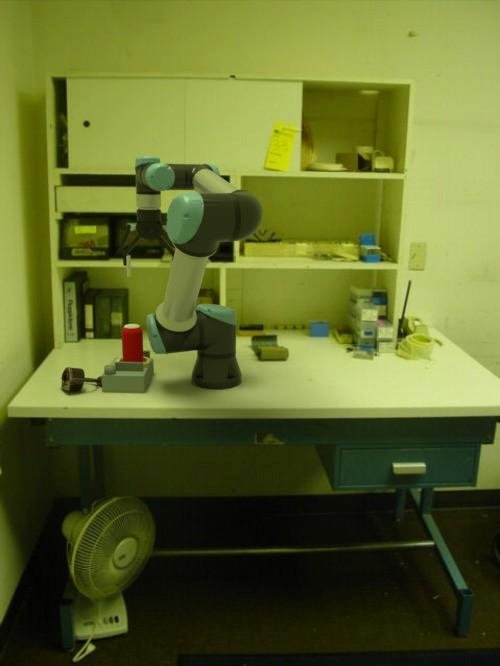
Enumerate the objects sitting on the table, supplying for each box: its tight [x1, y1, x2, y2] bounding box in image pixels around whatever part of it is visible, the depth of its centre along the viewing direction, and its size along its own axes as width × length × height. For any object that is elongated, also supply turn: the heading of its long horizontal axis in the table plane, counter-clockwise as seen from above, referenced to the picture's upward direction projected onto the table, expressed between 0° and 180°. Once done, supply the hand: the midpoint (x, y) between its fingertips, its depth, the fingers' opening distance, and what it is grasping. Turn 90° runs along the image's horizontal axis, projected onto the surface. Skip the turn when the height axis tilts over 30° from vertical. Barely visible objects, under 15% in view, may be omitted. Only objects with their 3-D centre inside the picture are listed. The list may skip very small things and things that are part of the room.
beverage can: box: [121, 323, 144, 362], centre depth 183 cm, size 6×6×12 cm
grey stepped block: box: [101, 349, 155, 394], centre depth 183 cm, size 12×17×8 cm
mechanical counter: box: [60, 366, 102, 392], centre depth 177 cm, size 7×13×10 cm
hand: (150, 276), depth 195 cm, fingers open, 13 cm apart
